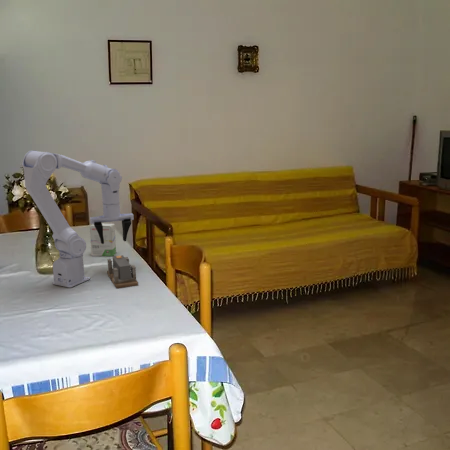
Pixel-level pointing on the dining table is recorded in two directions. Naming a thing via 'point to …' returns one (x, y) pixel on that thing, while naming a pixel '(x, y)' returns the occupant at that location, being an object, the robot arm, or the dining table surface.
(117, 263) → the grey rectangular block
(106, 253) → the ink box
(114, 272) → the cradle
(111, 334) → the dining table surface
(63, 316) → the dining table surface
